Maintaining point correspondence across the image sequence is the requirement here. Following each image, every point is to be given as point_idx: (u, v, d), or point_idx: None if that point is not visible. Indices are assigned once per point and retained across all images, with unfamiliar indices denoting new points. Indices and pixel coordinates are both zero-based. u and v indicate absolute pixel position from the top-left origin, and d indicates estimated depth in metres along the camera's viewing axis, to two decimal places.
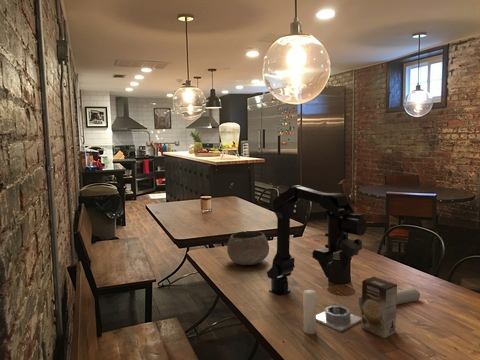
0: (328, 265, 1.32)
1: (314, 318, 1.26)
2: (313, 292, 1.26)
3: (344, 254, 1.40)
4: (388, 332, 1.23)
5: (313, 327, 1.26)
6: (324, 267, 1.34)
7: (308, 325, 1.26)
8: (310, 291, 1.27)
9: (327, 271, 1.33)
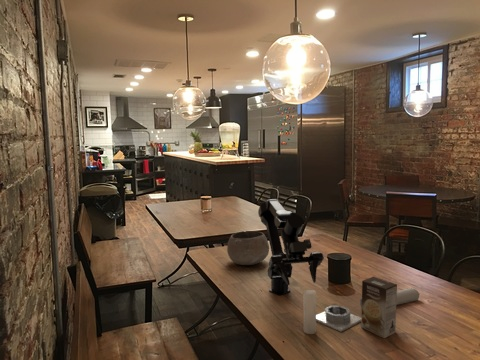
0: (282, 269, 1.34)
1: (314, 318, 1.26)
2: (313, 292, 1.26)
3: (311, 266, 1.38)
4: (388, 332, 1.23)
5: (313, 327, 1.26)
6: (282, 275, 1.35)
7: (308, 325, 1.26)
8: (310, 291, 1.27)
9: (284, 277, 1.33)
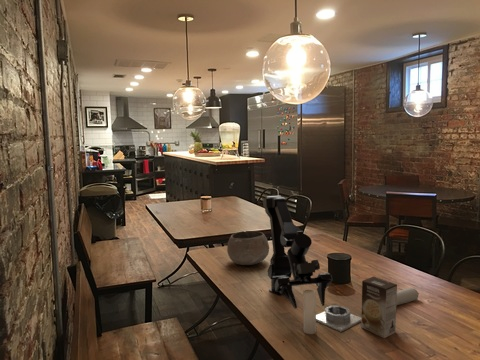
0: (289, 292, 1.28)
1: (314, 318, 1.26)
2: (313, 292, 1.26)
3: (319, 288, 1.32)
4: (388, 332, 1.23)
5: (313, 327, 1.26)
6: (289, 298, 1.28)
7: (308, 325, 1.26)
8: (310, 291, 1.27)
9: (292, 300, 1.27)
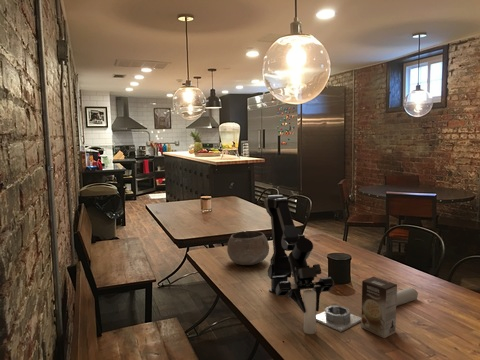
0: (298, 296, 1.27)
1: (314, 318, 1.26)
2: (313, 292, 1.26)
3: None
4: (388, 332, 1.23)
5: (313, 327, 1.26)
6: (298, 302, 1.28)
7: (308, 325, 1.26)
8: (310, 291, 1.27)
9: (300, 304, 1.26)
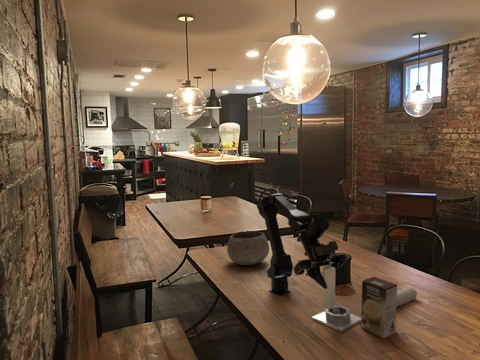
0: (318, 273, 1.30)
1: (334, 293, 1.30)
2: (332, 268, 1.30)
3: None
4: (388, 332, 1.23)
5: (333, 302, 1.30)
6: (317, 279, 1.30)
7: (329, 300, 1.29)
8: (329, 268, 1.30)
9: (321, 280, 1.29)
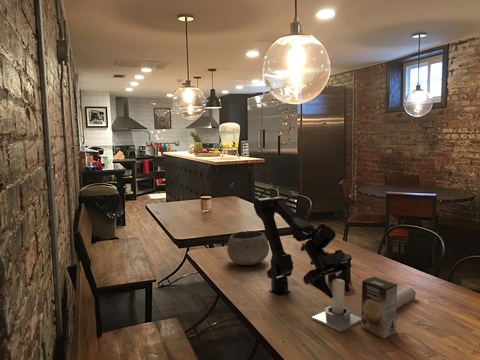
0: (323, 283, 1.32)
1: (343, 304, 1.33)
2: (341, 280, 1.33)
3: (339, 276, 1.39)
4: (388, 332, 1.23)
5: (342, 313, 1.33)
6: (323, 288, 1.32)
7: (338, 312, 1.33)
8: (338, 280, 1.34)
9: (327, 290, 1.31)
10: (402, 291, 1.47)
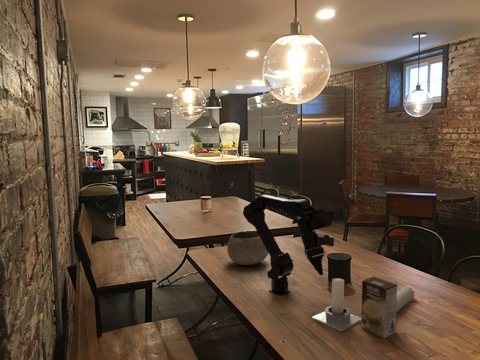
0: (321, 260, 1.40)
1: (343, 304, 1.34)
2: (341, 279, 1.34)
3: None
4: (388, 332, 1.23)
5: (342, 313, 1.34)
6: (317, 265, 1.40)
7: (338, 311, 1.33)
8: (338, 279, 1.35)
9: (321, 267, 1.40)
10: (402, 291, 1.47)
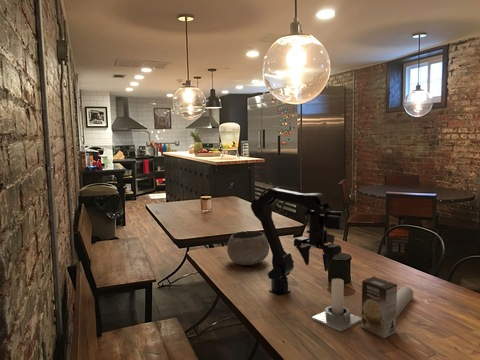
0: None
1: (343, 303, 1.34)
2: (340, 280, 1.34)
3: (305, 249, 1.53)
4: (388, 332, 1.23)
5: (342, 313, 1.34)
6: (328, 261, 1.45)
7: (338, 311, 1.33)
8: (337, 280, 1.34)
9: (329, 264, 1.46)
10: (402, 291, 1.47)
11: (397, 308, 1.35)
